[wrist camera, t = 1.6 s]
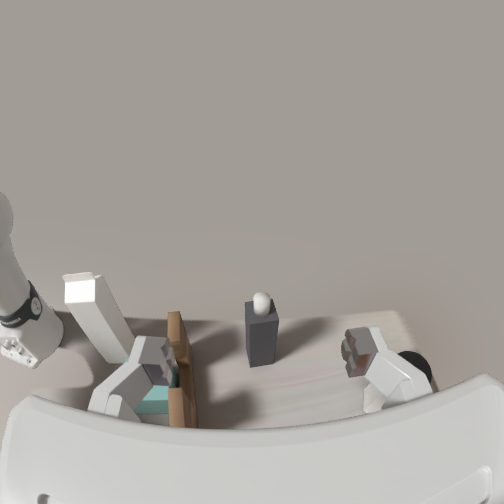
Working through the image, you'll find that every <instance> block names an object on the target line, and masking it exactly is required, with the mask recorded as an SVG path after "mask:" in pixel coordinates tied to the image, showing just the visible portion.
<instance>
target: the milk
mask: <svg viewBox="0 0 504 504" xmlns="http://www.w3.org/2000/svg"><path fill="white" fill-rule="evenodd" d="M63 279H64V281H65V304H66V305H67V307H68V309H69V310H70V312H71V313H72V315H73V316H74V318H75V319H76V321H77V322H78V324H79V325H80V327H81V328H82V330H83V331H84V332H85V334H86V335H87V337H88V338H89V339H90V341H91V342H92V343H93V345H94V346H95V347H96V349H97V350H98V351H99V353H100V354H101V355H102V356H103V358H104V359H105V360H106V362H107V363H109V364H119V363H124V361H125V359H129V357H130V354H131V351H132V348H133V345H134V342H135V338H134V336H133V334H132V332H131V330H130V329H129V327H128V325H127V323H126V321H125V319H124V317H123V316H122V314H121V312H120V310H119V308H118V306H117V304H116V302H115V300H114V298H113V296H112V294H111V292H110V290H109V287H108V285H107V283H106V281H105V279H104V277H103V275H96V276H93V274H92V273H91V272H89V273H78V274H70V275H63Z"/></svg>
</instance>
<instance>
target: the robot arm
mask: <svg viewBox="0 0 504 504" xmlns="http://www.w3.org/2000/svg"><path fill="white" fill-rule="evenodd" d="M12 227H13V211H12V207H11V204H10V202H9V200H8V198H7V197H6V196H5V195H4V194H2V193H1V192H0V341H1V342H2V343H1V353H2V355H3V356H5V357H7V358H9V359H11V360H13V361H16V362H18V363H20V364H22V365H25V366H27V367H29V368H32V369H35V368H36V367H37V366H38V365H39V364H40V363H41V361H43V360H44V359H46V358H47V357H48V356H50V355H51V354H52V353H53V352H54V351H55V350H56V349H57V348H58V346H59V344H60V342H61V340H62V337H63V331H64V328H63V323H62V321H61V320H60V318H59V317H57V316H56V314H55V311H54V309H53V308H52V307H51V306H48V305H47V303H46V302H45V301H44V300H43V299H42V297H41V296H40V295H39V294H38V293H37V291H36V290H35V288H34V286H33V285H32V284H31V282H30V281H29V280H27V279H26V277H25V275H24V273H23V271H22V269H21V268H20V266H19V264H18V262H17V260H16V257H15V255H14V252H13V249H12V244H11V239H10V234H11V231H12ZM345 337H346V338H345V339H344V340H343V341H342V345H341V353H342V357H343V359H344V360H345V361H346V362H347V364H346V366H345V367H346V370H347V373H348V377H349V378H350V377H357V376H363V375H365V377H366V378H367V379H368V380H369V381H370V382H371V383H372V384H373V385H374V386H376V387H377V388H378V389H379V390H380V391H381V392H382V393H383V394H384V395H385V396H386V397H387V398H388V399H387V400H386V402H385V403H384V404H383V405H382V407H381V409H382V410H380V411H376V412H372V413H368V414H363V415H359V416H354V417H349V418H344V419H339V420H333V421H328V422H321V423H314V424H307V425H299V426H289V427H278V428H263V429H198V428H183V427H172V426H162V425H154V424H147V423H140V422H141V420H140V418H139V417H138V416H137V415H136V414H135V413H134V411H133V410H134V409H135V408H136V407H137V405H138V404H139V403H140V402H141V401H142V400H143V398H144V397H145V396H146V395H147V394H148V392H149V391H150V390H151V389H152V388H153V387H154V386H153V385H157V386H171V380H172V372H171V369H172V368H173V367H174V363H175V355H174V350H173V348H172V347H170V343H171V342H170V340H169V338H168V337H153V336H139V335H138V336H137V337H136V339H135V342H134V345H133V348H132V351H131V354H130V357H129V361H128V362H125V363H124V364H123V365H122V366H120V367H119V368H118V369H117V370H116V371H115V372H114V373H112V374H111V375H110V376H109V377H108V378H107V379H106V380H104V381H103V382H102V383H101V384H100V385H99V386H97V387H96V388H95V389H94V390H93V393H92V397H91V400H90V403H89V406H88V409H87V411H83V410H79V409H76V408H72V407H69V406H66V405H62V404H59V403H56V402H53V401H50V400H47V399H45V398H42V397H39V396H36V395H30V396H28V397H26V398H25V399H24V400H22V401H21V402H20V403H19V404H17V405H16V406H15V407H14V408H13V409H12V411H11V413H10V416H9V419H8V422H7V426H6V430H5V434H4V438H3V442H2V447H1V454H0V504H504V383H502V382H500V381H499V380H497V379H495V378H494V377H492V376H491V375H489V374H486V373H480V374H478V375H476V376H474V377H472V378H470V379H468V380H465V381H463V382H461V383H459V384H456V385H454V386H452V387H449V388H447V389H444V390H442V391H439V392H436V393H433V391H432V388H431V386H430V384H429V382H428V379H427V377H426V375H425V374H424V373H423V372H422V371H420V370H419V369H417V368H416V367H415V366H413V365H412V364H410V363H409V362H408V361H406V360H405V359H403V358H402V357H401V356H399V355H398V354H396V353H395V352H394V351H392V350H389V349H388V347H387V345H386V343H385V341H384V339H383V336H382V334H381V332H380V330H379V328H378V327H377V326H369V327H360V328H353V329H347V330H346V332H345Z"/></svg>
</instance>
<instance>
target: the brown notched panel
mask: <svg viewBox="0 0 504 504" xmlns="http://www.w3.org/2000/svg"><path fill="white" fill-rule="evenodd" d="M167 337H168V338H169V340H170V342H171V343H170V347H172V348H173V350H174V355H175V360H176V362H177V364H178V366H179V380H180V388H168V406H169V423H170V426H172V427H183V428H198V423H197V414H196V404H195V394H194V382H193V369H192V355H191V346H190V343H189V340H188V337H187V334H186V331H185V327H184V324H183V321H182V318H181V315H180V312H169V313H168V331H167Z"/></svg>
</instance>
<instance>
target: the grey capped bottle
mask: <svg viewBox="0 0 504 504" xmlns="http://www.w3.org/2000/svg"><path fill="white" fill-rule="evenodd" d="M245 324H246V350H247V355H248V359H249V364H250V368H251V367H257V366H263V365H269V364H273V362H274V355H275V348H276V340H277V333H278V325H279V318H278V315H277V312H276V308H275V305H274V302H273V299H270V295H269V294H268V293H265V292H258V293H256V294H255V295H254V301H251V302H245Z"/></svg>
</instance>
